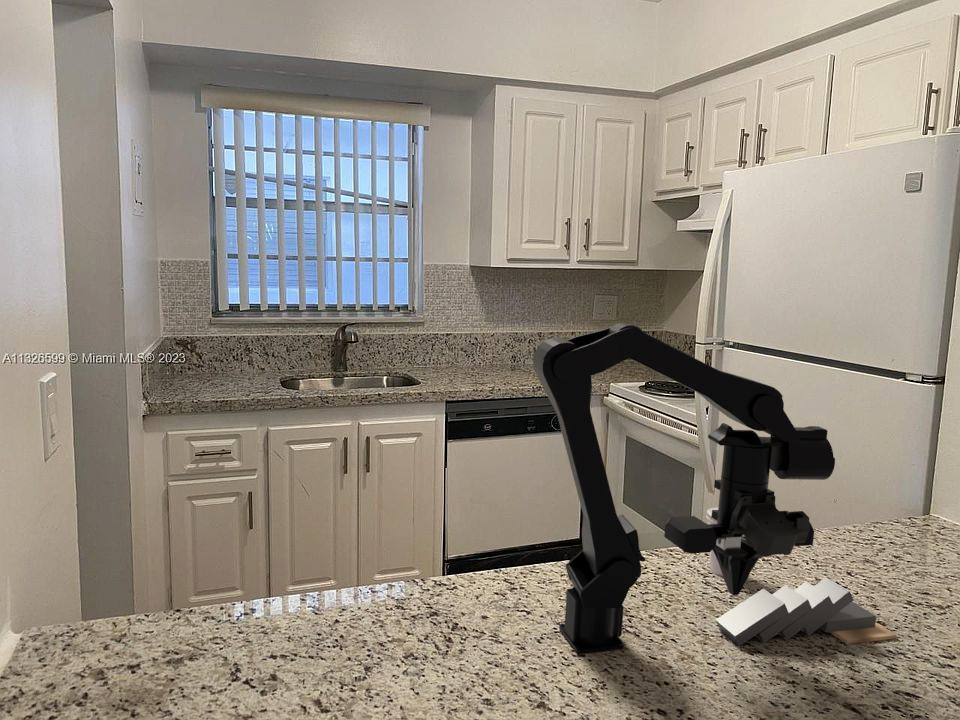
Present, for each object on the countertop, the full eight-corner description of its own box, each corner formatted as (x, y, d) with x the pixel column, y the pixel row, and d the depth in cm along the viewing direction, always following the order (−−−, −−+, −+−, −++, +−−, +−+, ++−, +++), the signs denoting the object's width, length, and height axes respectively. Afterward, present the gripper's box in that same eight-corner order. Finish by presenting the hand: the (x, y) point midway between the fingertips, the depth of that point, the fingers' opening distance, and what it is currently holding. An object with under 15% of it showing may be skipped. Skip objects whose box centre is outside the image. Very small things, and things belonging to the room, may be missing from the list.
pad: (846, 644, 95) (847, 640, 95) (799, 611, 103) (800, 608, 103) (896, 638, 97) (896, 634, 97) (845, 607, 106) (846, 604, 106)
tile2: (759, 633, 94) (807, 599, 95) (739, 617, 98) (785, 584, 99) (764, 643, 94) (812, 608, 95) (743, 626, 98) (789, 593, 100)
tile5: (827, 621, 96) (876, 616, 99) (804, 606, 101) (851, 601, 103) (826, 632, 97) (874, 627, 99) (803, 617, 101) (850, 612, 103)
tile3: (782, 631, 95) (828, 595, 96) (761, 615, 99) (806, 581, 100) (787, 640, 95) (833, 604, 96) (765, 624, 99) (810, 589, 101)
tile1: (735, 636, 93) (784, 603, 94) (715, 619, 97) (763, 588, 98) (739, 645, 93) (788, 613, 95) (719, 629, 97) (767, 597, 99)
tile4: (804, 627, 96) (849, 591, 97) (782, 611, 100) (825, 577, 101) (808, 635, 96) (853, 599, 97) (786, 620, 100) (829, 585, 101)
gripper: (717, 501, 82) (705, 630, 84) (852, 495, 87) (838, 617, 89) (667, 473, 93) (657, 589, 95) (790, 469, 98) (779, 578, 100)
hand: (733, 593), depth 95 cm, fingers closed
